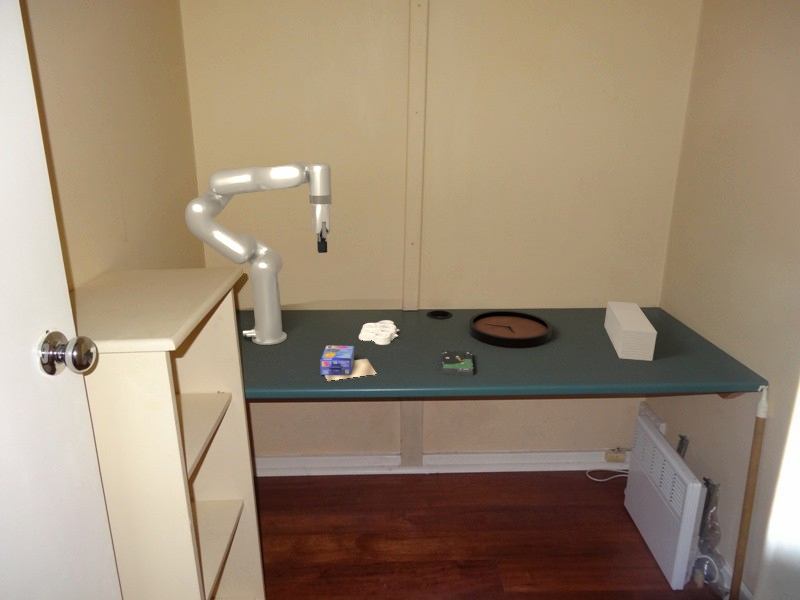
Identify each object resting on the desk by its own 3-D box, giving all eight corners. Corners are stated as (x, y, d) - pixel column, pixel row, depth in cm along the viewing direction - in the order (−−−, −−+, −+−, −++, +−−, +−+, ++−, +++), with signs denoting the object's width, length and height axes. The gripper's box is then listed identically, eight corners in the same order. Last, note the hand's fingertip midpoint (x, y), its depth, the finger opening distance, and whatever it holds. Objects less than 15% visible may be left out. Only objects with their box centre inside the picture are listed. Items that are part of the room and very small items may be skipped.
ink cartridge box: (354, 344, 182) (350, 364, 169) (354, 359, 184) (350, 379, 171) (325, 344, 183) (318, 363, 169) (325, 359, 184) (319, 379, 171)
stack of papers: (604, 326, 218) (607, 301, 215) (632, 328, 216) (636, 302, 213) (619, 358, 188) (623, 329, 185) (652, 361, 186) (657, 332, 183)
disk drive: (441, 357, 189) (441, 375, 175) (441, 349, 188) (441, 367, 174) (471, 358, 188) (473, 376, 174) (471, 350, 188) (474, 368, 173)
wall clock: (568, 325, 208) (518, 346, 188) (567, 335, 209) (517, 356, 189) (503, 305, 230) (452, 322, 210) (502, 314, 231) (451, 331, 212)
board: (327, 381, 169) (327, 380, 169) (320, 365, 181) (320, 364, 180) (376, 374, 174) (376, 374, 174) (367, 359, 185) (367, 358, 185)
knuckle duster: (364, 327, 216) (401, 328, 215) (357, 344, 199) (397, 346, 198) (364, 319, 215) (401, 320, 214) (357, 336, 198) (397, 337, 197)
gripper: (306, 197, 192) (308, 248, 198) (313, 203, 179) (315, 257, 185) (327, 197, 195) (329, 247, 200) (335, 202, 181) (337, 256, 187)
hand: (322, 252), depth 192 cm, fingers closed
